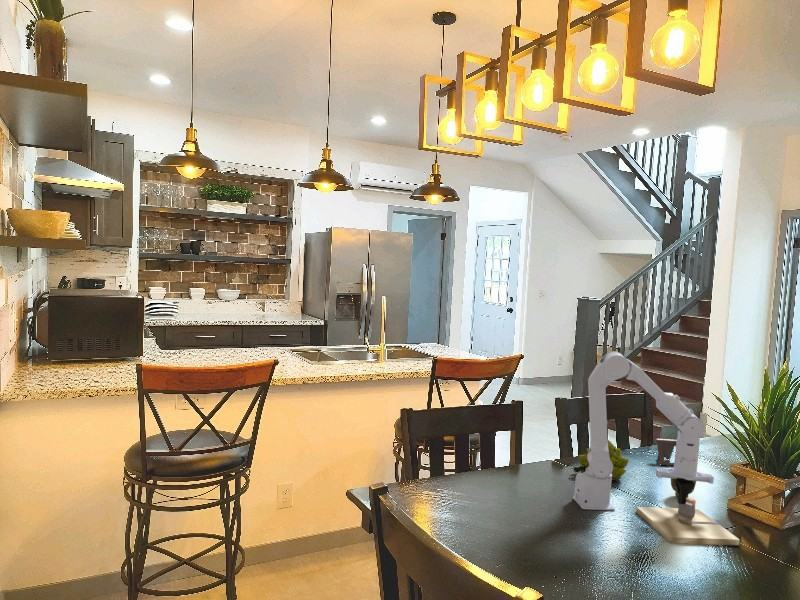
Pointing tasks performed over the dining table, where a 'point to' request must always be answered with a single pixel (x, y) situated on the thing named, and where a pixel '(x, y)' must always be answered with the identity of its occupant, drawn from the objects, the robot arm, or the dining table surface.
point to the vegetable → (615, 458)
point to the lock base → (686, 527)
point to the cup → (676, 487)
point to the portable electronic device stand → (665, 450)
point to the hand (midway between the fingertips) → (681, 505)
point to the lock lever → (687, 508)
